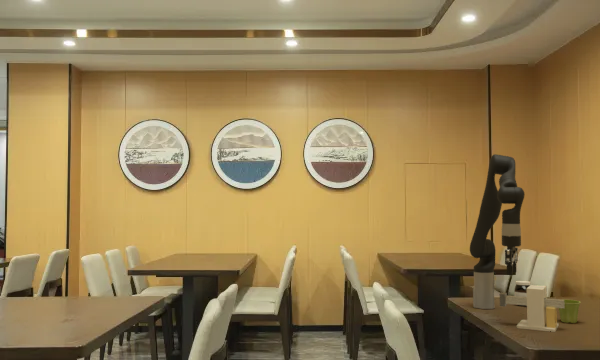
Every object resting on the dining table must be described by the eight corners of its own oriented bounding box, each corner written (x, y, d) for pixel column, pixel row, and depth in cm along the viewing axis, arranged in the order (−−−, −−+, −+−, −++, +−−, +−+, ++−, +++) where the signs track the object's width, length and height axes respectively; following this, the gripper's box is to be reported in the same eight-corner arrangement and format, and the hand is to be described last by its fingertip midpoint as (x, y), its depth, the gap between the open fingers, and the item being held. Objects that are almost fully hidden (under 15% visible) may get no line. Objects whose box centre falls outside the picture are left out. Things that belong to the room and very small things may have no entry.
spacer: (546, 327, 210) (546, 308, 211) (548, 323, 217) (548, 305, 217) (555, 327, 209) (554, 308, 209) (556, 324, 215) (556, 305, 216)
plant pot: (571, 325, 218) (571, 303, 219) (551, 320, 227) (551, 300, 227) (586, 322, 223) (585, 301, 223) (566, 318, 231) (565, 298, 231)
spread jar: (518, 302, 271) (517, 279, 272) (541, 305, 264) (541, 281, 265) (512, 306, 261) (511, 282, 262) (536, 308, 255) (535, 284, 255)
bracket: (516, 328, 213) (515, 287, 214) (521, 322, 224) (520, 284, 225) (555, 332, 206) (553, 290, 207) (558, 325, 217) (557, 286, 218)
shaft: (499, 306, 221) (499, 294, 221) (502, 304, 225) (501, 292, 225) (563, 311, 208) (563, 298, 209) (565, 309, 213) (564, 296, 213)
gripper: (505, 233, 230) (505, 271, 229) (498, 235, 218) (498, 274, 217) (523, 234, 226) (524, 272, 225) (517, 235, 214) (518, 276, 213)
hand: (511, 273), depth 221 cm, fingers open, 8 cm apart
